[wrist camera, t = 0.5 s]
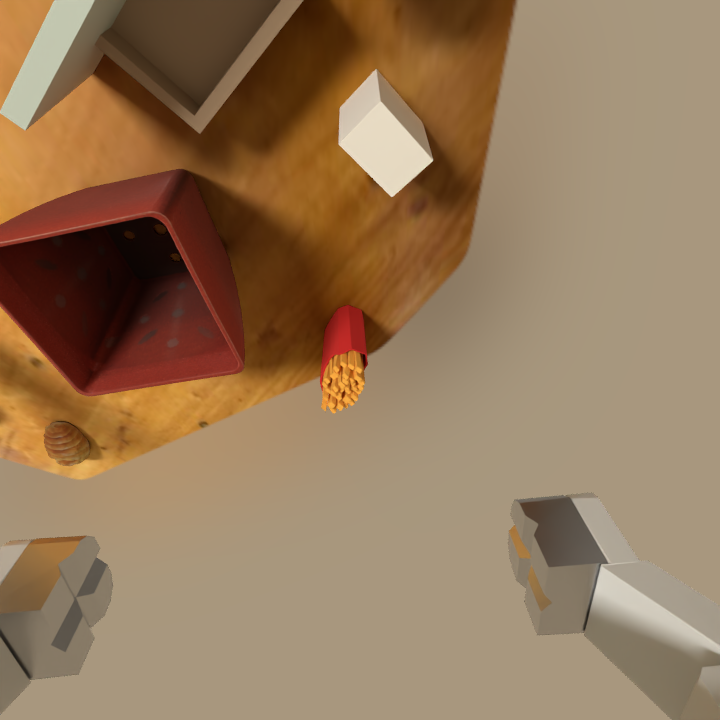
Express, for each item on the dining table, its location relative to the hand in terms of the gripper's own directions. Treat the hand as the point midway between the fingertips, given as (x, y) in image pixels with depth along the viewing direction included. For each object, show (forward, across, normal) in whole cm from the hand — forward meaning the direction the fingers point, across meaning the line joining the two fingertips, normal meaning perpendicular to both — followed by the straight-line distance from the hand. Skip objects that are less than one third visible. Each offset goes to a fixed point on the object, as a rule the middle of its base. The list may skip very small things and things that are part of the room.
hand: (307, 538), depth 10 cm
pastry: (+66, +51, +43) cm, 94 cm away
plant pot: (+54, +20, +5) cm, 57 cm away
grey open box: (+47, +11, -14) cm, 50 cm away
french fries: (+57, 0, +21) cm, 61 cm away
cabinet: (+49, -6, -5) cm, 50 cm away
